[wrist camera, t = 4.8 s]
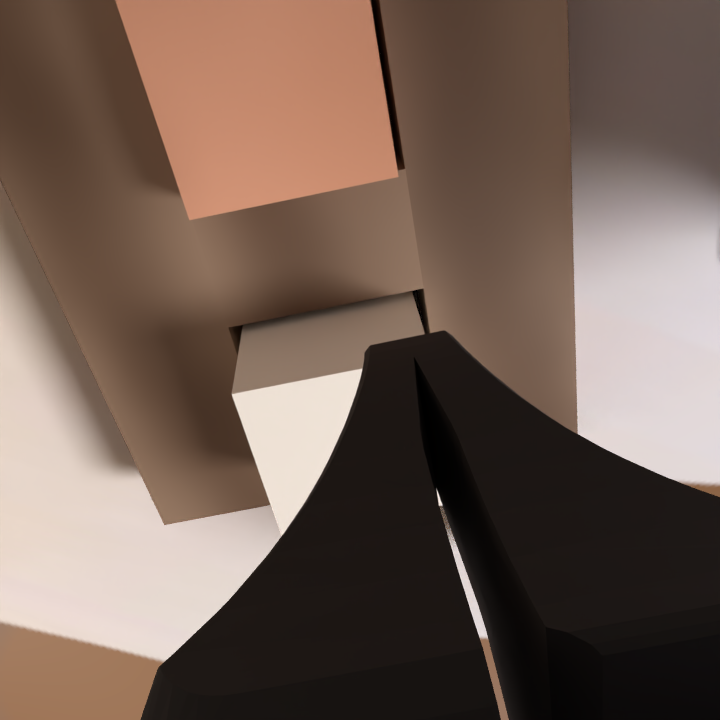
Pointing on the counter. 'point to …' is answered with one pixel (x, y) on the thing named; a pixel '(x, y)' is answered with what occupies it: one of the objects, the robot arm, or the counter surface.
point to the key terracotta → (263, 97)
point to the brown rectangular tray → (294, 224)
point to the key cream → (308, 388)
